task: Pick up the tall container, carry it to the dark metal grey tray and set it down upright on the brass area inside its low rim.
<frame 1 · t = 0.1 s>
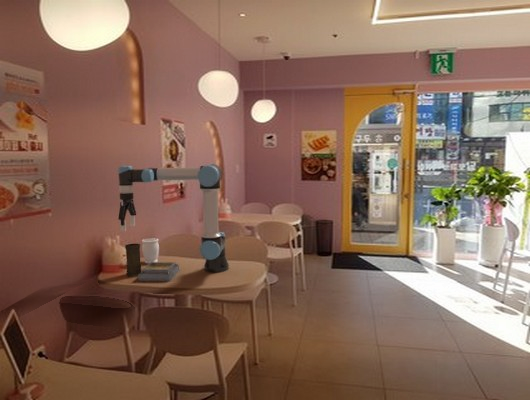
hand: (128, 228, 240), 28 cm above the table, fingers open, 13 cm apart
jar: (151, 262, 270), on the table
grey tray: (159, 275, 240), on the table
container: (134, 274, 243), on the table
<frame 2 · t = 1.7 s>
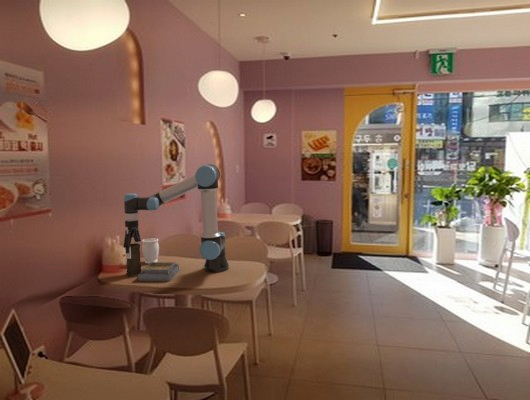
hand: (132, 255, 242), 12 cm above the table, fingers open, 13 cm apart
nothing on the table moved.
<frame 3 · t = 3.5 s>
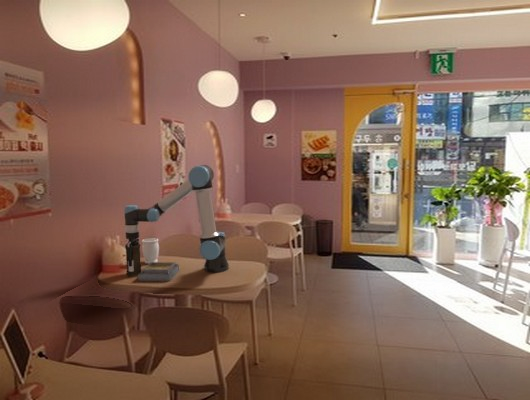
hand: (134, 269, 243), 3 cm above the table, fingers closed on container, 8 cm apart
container: (134, 274, 243), on the table, touching gripper
everything else where it was.
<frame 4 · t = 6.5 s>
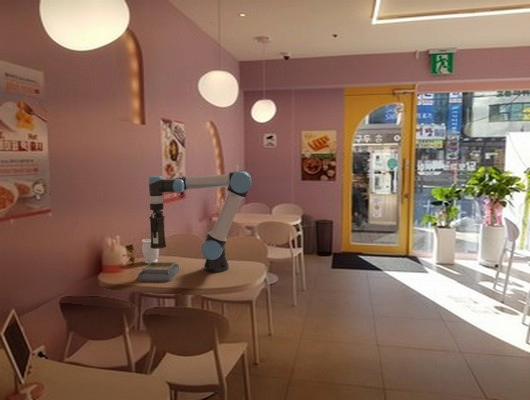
hand: (158, 241, 238), 21 cm above the table, fingers closed on container, 8 cm apart
container: (158, 247, 238), point 17 cm above the table, touching gripper
everything else where it was.
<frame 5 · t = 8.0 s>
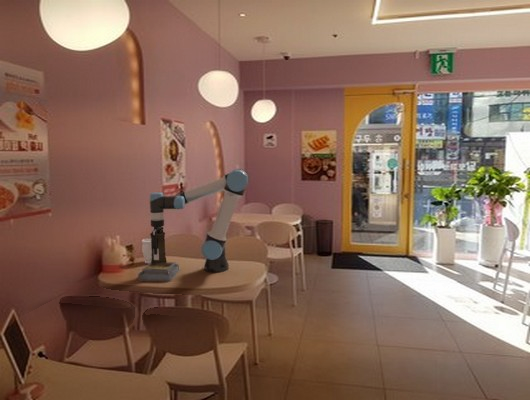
hand: (158, 257, 239), 11 cm above the table, fingers closed on container, 8 cm apart
container: (158, 263, 239), point 7 cm above the table, touching gripper
everything else where it was.
when the fingers open (9 cm above the table, at t = 9.4 s): container stays where it is, resting on grey tray.
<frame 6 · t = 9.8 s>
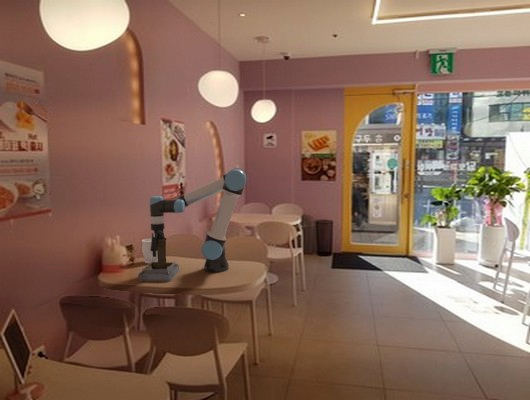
hand: (159, 258, 239), 10 cm above the table, fingers open, 13 cm apart
container: (159, 268, 240), point 4 cm above the table, touching grey tray
everything else where it was.
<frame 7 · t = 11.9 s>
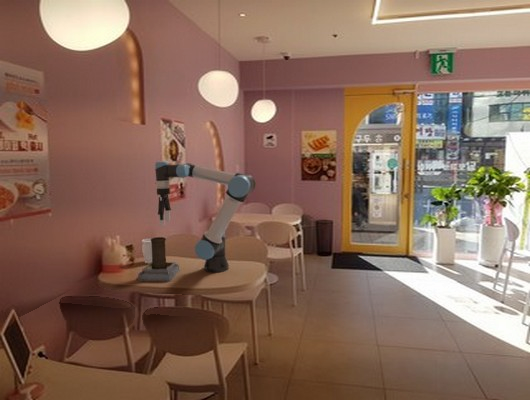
hand: (165, 223, 243), 30 cm above the table, fingers open, 13 cm apart
nothing on the table moved.
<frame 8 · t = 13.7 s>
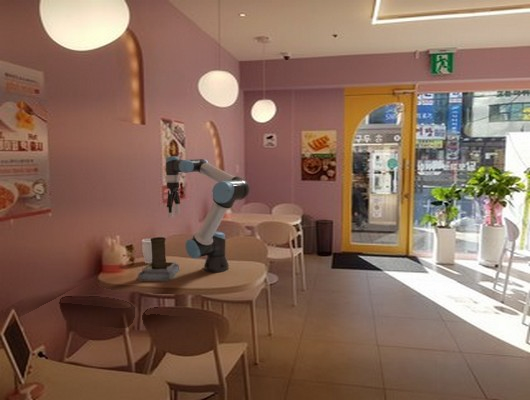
hand: (174, 216, 253), 33 cm above the table, fingers open, 13 cm apart
nothing on the table moved.
at the end: container inside the target area on the grey tray (0.0 cm from its centre), point 4.1 cm above the grey tray's base; container tilted 0°; the gripper is holding nothing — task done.
